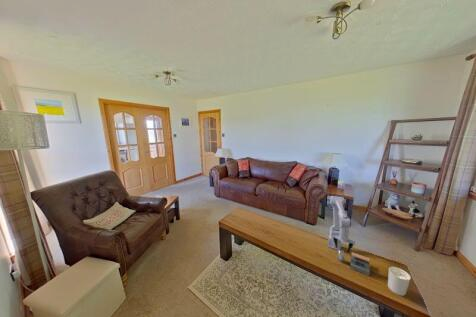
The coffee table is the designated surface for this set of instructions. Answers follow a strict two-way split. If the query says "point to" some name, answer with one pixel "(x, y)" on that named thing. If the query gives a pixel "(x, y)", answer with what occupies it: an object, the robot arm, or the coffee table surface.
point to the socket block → (360, 263)
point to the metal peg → (340, 255)
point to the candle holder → (398, 280)
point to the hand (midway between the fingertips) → (342, 249)
